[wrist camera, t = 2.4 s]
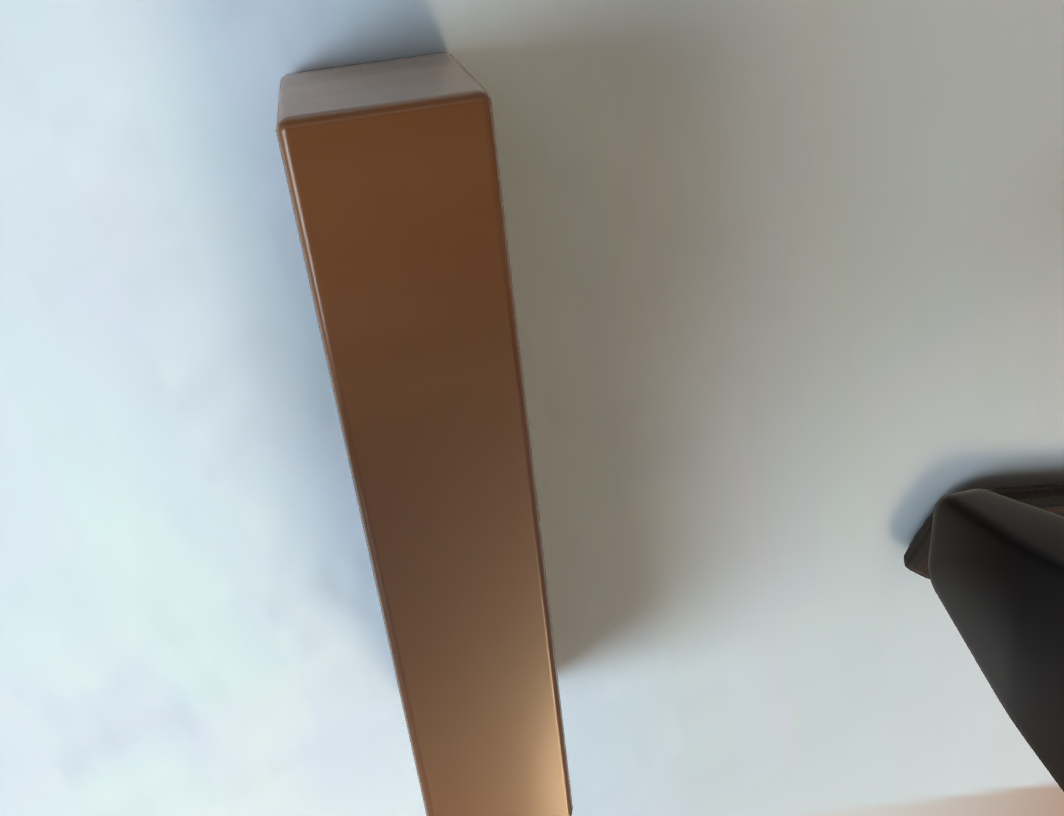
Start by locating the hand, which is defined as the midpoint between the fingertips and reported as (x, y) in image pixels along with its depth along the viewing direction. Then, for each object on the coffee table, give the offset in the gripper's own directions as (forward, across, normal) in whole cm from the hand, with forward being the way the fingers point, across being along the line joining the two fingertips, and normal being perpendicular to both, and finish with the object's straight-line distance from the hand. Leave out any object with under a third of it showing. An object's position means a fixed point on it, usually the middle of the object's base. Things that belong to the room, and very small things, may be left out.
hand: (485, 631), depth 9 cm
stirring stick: (+4, 0, 0) cm, 4 cm away
